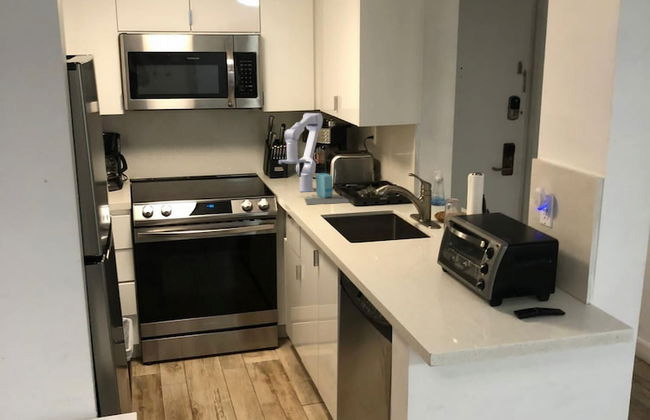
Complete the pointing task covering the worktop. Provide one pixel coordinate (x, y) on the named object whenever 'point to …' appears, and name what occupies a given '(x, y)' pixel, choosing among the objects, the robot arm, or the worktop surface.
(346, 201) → the mat
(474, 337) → the worktop surface
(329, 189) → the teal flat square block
